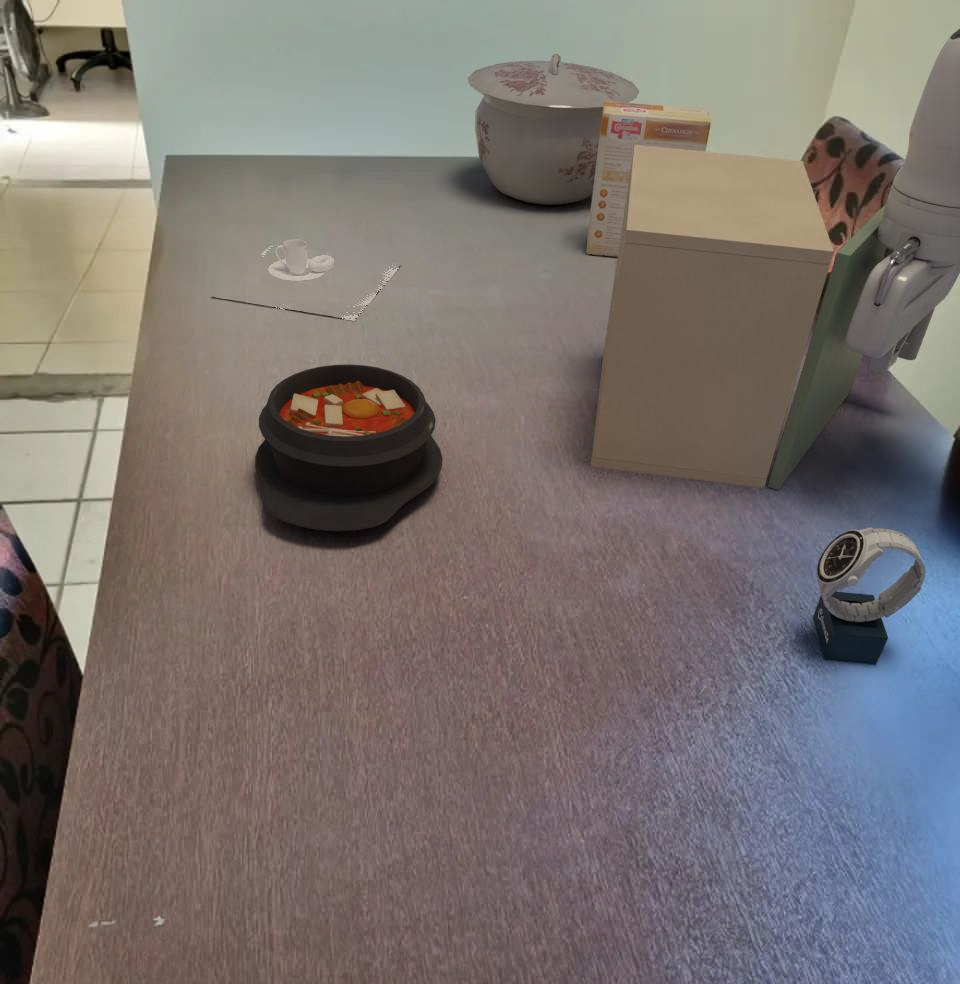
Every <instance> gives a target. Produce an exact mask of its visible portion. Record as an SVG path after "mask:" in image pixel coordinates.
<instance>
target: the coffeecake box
mask: <svg viewBox="0 0 960 984" xmlns="http://www.w3.org/2000/svg"><path fill="white" fill-rule="evenodd" d="M709 113H710V111H709V108H699V107H688V106H687V107H685V106H674V105H673V106H671V105H661V104H660V105H659V104H646V103H637V102H636V103H635V102H628V103H623V102H611V101H605V102H604V106H603V113H602V120H601V129H600V137H599V145H598V153H597V161H596V169H595V178H594V186H593V195H591V204H590V211H589V219H588V230H587V237H586V239H587V240H586V251H585V252H586V253H585V254H586V255H590V254H592V255H593V256H603V255H604V257H616V258H618V251H619V244H620V237H621V231H622V224H623V217H624V210H625V203H626V197H627V190H628V183H629V176H630V169H631V163H632V156H633V149H634V145H644V146H654V147H664V148H674V149H685V150H695V151H705V152H707V145H708V142H709V136H710V129H711V123H712V121H711V117H710V114H709Z"/></svg>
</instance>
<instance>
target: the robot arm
mask: <svg viewBox="0 0 960 984" xmlns="http://www.w3.org/2000/svg"><path fill="white" fill-rule="evenodd" d="M885 204H886V205H885ZM885 204H884V205H885V208H884V211H883V215H882V218H881V221H880V224H879V227H878V230H877V233H876V237H877V239H878V241H879V242H880V243H881V244H882V245H884V246H885V247H887V248H886V250H885V253H884V258H885V259H884V260H882V261H881V262H880V263H878V264H877V265H876V266H875V267H874V269H873V270H872V271H871V273H870V275H869V277H868V279H867V281H866V283H865V286H864V288H863V290H862V293H861V295H860V298H859V301H858V303H857V306H856V309H855V311H854V314H853V317H852V320H851V322H850V325H849V328H848V331H847V334H846V338H845V346H846V348H847V349H848V350H851V351H854V352H856V353H859V354H862V355H863V356H865V357H869V358H870V360H869V363H868V369H869V370H870V371H871V372H874V373H877V374H880V375H883V374H885V373H886V372H887V371H888V370H889V369H891V368H892V366H893V365H894V364H895V363H896V362H897V360H898V358H899V357H898V355H899V352H900V349H901V348H902V346H903V344H904V343H905V341H906V339H907V337H908V335H909V334H910V332H911V330H912V328H913V327H914V326H915V325H917V324H918V323H919V322H920V321H921V320H922V319H923V318H924V317H925V316H926V315H927V314H928V313H930V312H931V311H932V310H933V309H934V308H935V309H936V307H937V306H938V305H940V304H941V303H942V302H943V301H944V300H946V298H947V296H948V295H949V293H950V292H951V290H952V289H953V287H954V285H955V283H956V281H957V279H958V277H959V276H960V28H958V29H957V30H956V31H955V32H953V33H952V34H951V35H950V36H949V38H947V40H946V41H945V43H944V44H943V46H942V47H941V50H940V51H939V53H938V55H937V57H936V58H935V61H934V64H933V66H932V68H931V70H930V73H929V75H928V77H927V80H926V82H925V84H924V87H923V89H922V93H921V96H920V99H919V101H918V104H917V106H916V109H915V113H914V116H913V120H912V122H911V125H910V128H909V135H908V147H907V153H906V155H905V158H904V160H903V163H902V164H901V166H900V168H899V170H898V171H897V172H896V174H895V176H894V178H893V181H892V183H891V187H890V190H889V192H888V196H887V199H886V203H885ZM935 309H934V310H935Z"/></svg>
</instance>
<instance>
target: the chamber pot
mask: <svg viewBox="0 0 960 984" xmlns="http://www.w3.org/2000/svg"><path fill="white" fill-rule="evenodd" d="M561 60H562V57H561V56H560V54H558V53H554V54H552V55H551V58H550V60H520V61H519V60H518V61H515V60H514V61H507V62H500V63H495V64H491V65H488V66H484V67H481V68H479V69H475V70H474V71H473V72H472V73H470V75H469V76H468V77H467V81H468V84H469V86H470V87H471V88H472V89H473V90H475V91H476V92H477V93H480V94H481V95H483V97H482V98H481V100H480V102H479V104H478V106H477V108H476V109H475V114H474V131H475V132H474V134H475V141H476V147H477V153H478V157H479V160H480V162H481V164H482V166H483V169H484V170H485V172H486V175H487V177H488V178H489V180H490V183H491V184H492V185H493V187H494V188H495V189H496V190H498V191H499V192H500V193H501V194H503V195H506V196H508V197H510V198H512V199H515V200H517V201H520V202H523V203H527V204H531V203H532V204H531V205H538V204H539V205H540V206H563V205H568V204H572V203H577V202H580V201H584V200H586V199H587V198H590V197H592V195H593V186H594V178H595V169H596V161H597V153H598V145H599V137H600V129H601V120H602V113H603V106H604V102H605V101H611V102H623V103H631V102H633V101H635V100H636V99H637V98H638V95H639V93H640V90H639V88H638V87H637V86H636V85H635V83H633V81H631V80H629V79H627V78H625V77H623V76H621V75H618V74H616V73H614V72H612V71H609V70H604V69H601V68H598V67H593V66H588V65H583V64H577V63H572V62H564V61H561Z"/></svg>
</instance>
